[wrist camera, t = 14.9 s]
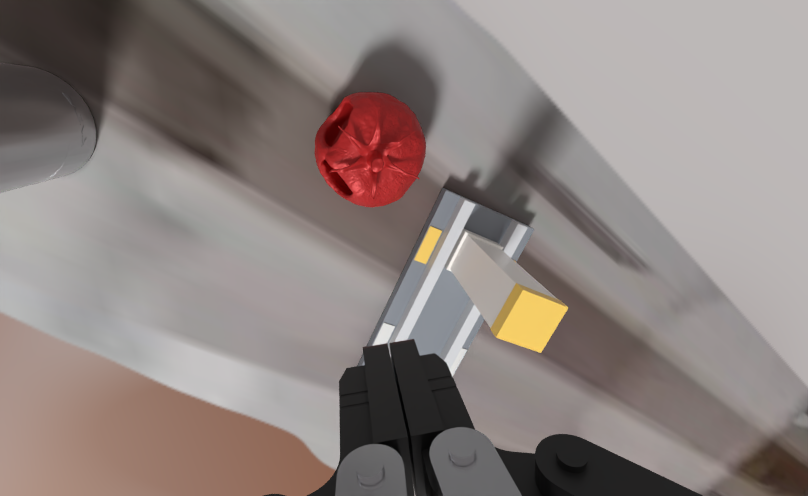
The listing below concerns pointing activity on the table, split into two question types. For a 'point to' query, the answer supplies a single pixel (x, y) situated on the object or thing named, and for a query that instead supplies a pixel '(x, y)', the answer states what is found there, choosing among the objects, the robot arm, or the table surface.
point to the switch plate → (443, 281)
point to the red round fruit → (370, 149)
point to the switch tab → (504, 292)
